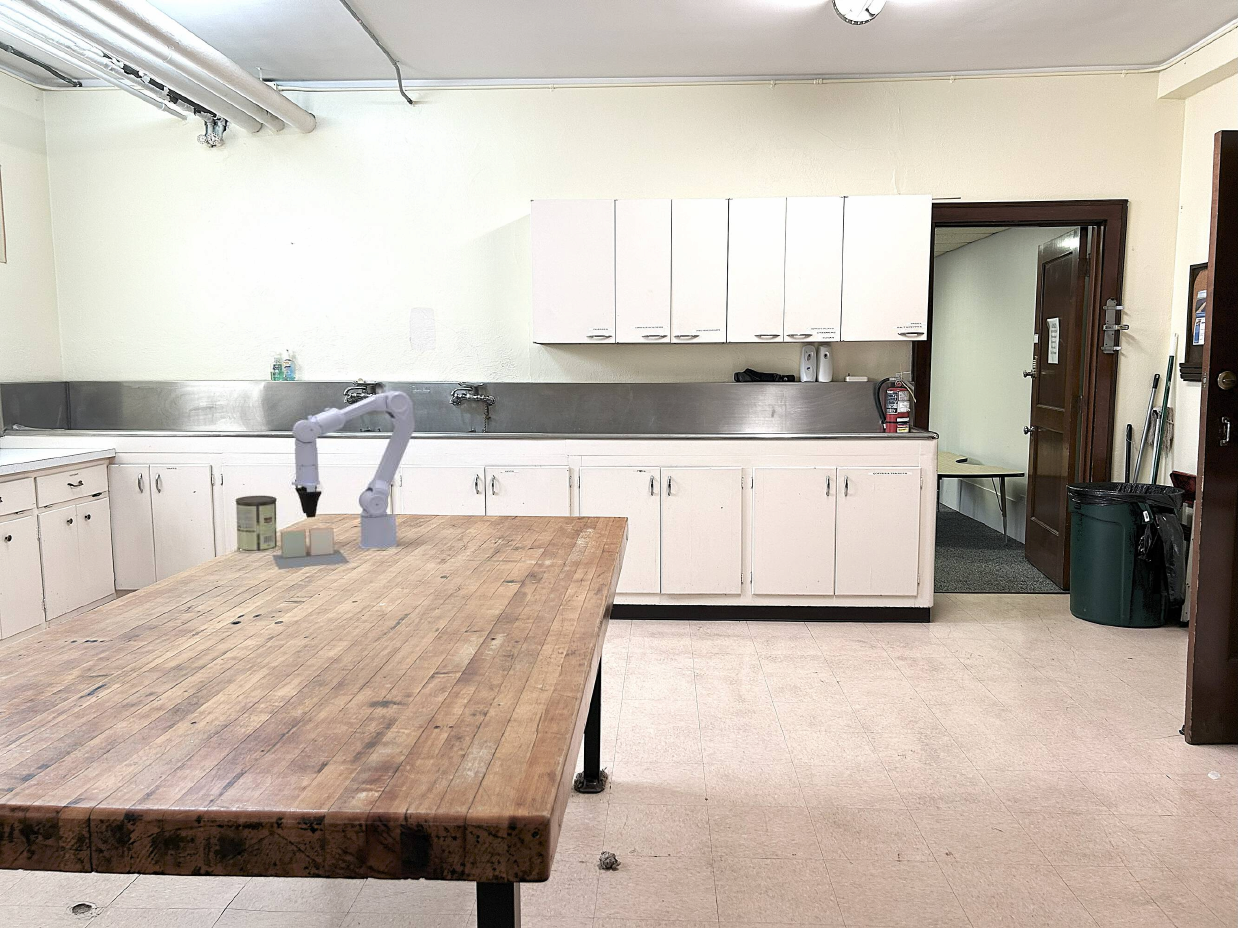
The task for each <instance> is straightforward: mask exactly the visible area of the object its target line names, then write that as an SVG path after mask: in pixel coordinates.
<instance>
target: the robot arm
mask: <svg viewBox="0 0 1238 928" xmlns="http://www.w3.org/2000/svg"><path fill="white" fill-rule="evenodd" d="M413 408H414V404H413V402H412V400H411V398H410V397H409V396H408V394H407V393H405V392H404V391H399V390H398V391H396V390H386V391H385V392H381V393H378V394H374V395H371V396H369V397H367V398H364V399H362V400H360V401H358V402H356V403H353V404H351V405H348V406H347V407H344V408H342V409H338V408H336V407H332V408H330V407H326V408H324V409H323V410H324V411H323V412H320V413H318V414H315V415H308V416H307V419H302V420H299V421H297V422H296V423H294V425H293V427H292V431H291V434H292V435H293V437H294V459H295V463H294V464H295V478H296V479H295V480H296V481H291V485H292V486H299V487H295V488H294V490H295V491H296V493H297V495H298V497H299V502H300V506H301V510H302V512H303V514H305V516H306V518H307V519H308V518H315V517H316V515H317V510H318V508H317V507H318V503H319V500H320V497H321V495H322V493H323V492H322V491H321V490H317V489H318V485H319V484H321V482H320V479H319V478H320V476H319V475H320V474H319V459H318V457H319V456H318V455H319V454H318V447H317V439H318V437H319V436H320V437H323V436H325V435H327V434H330V433H332V432H334V431H338V430H340V429H342V428H344V426H345V423H346V421H348V420H351V419H353V418H357V417H359V416H361V415H364V414H368V413H370V412H373V411H377V412H378V411H380V412H385V413H386V414H387V416H389V417H390V420H391V422H392V423H393V426H394V429H393V431H392V433H391V436H390V438H389V440H388V443H387V446H386V448H385V450H384V452H383V455H382V457H381V458H380V459H381V460H380V462H379V464H378V467H377V469H376V472H375V474H374V475H373V478H372V479H371V481H370V482H369V483H368V484H367V487H366V489H365V490H363V491H362V493H360V496H359V497H358V504H359V506H360V508H361V509H362V511H361V512H360V513H359V514H360V542H358V543H357V545H358V546H359V547H360V548H361V549H362V550H368V549H369V550H370V549H381V548H392V547H398V544H397V541H398V540H397V539H398V538H397V520H396V515H395V514H392V513H390V514H389V513H388V512H387V509H388V508H389V496H390V494H391V485H392V483H393V481H394V478H395V475H396V473H397V470H398V469H399V466H400V463H401V461H402V459H403V456H404V454H405V452H406V449H407V447H408V444H409V442H410V440H411V437H412V435H413V432H414V430H415V428H416V427H415V426H416V425H415V424H416V423H415V418H414V417H415V416H414V412H413Z"/></svg>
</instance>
